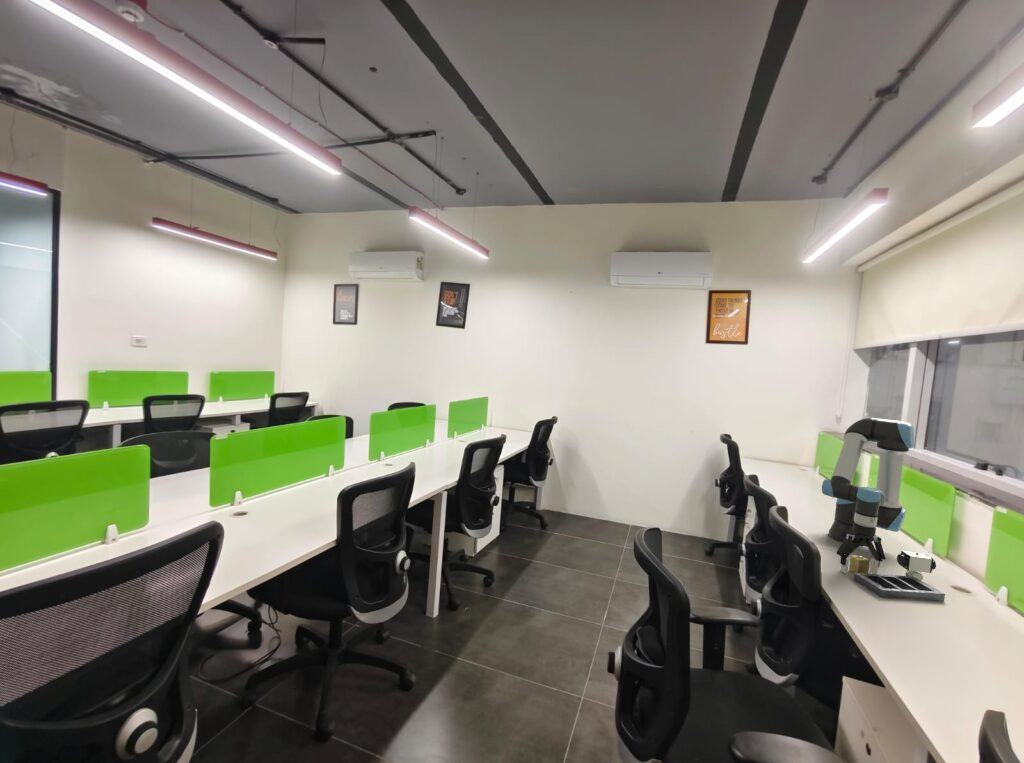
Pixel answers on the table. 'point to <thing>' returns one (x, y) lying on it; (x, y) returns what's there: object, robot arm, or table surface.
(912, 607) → the table surface
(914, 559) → the white security camera
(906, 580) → the grey slotted tray
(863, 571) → the tan rectangular block
